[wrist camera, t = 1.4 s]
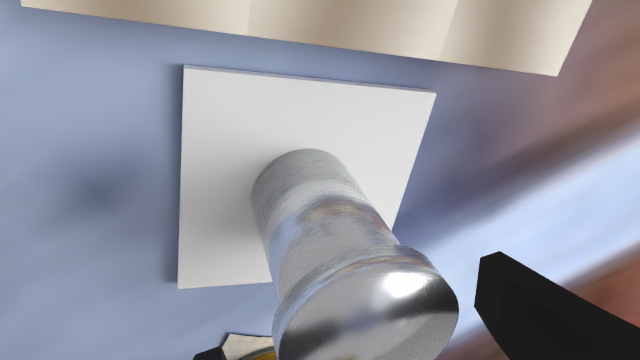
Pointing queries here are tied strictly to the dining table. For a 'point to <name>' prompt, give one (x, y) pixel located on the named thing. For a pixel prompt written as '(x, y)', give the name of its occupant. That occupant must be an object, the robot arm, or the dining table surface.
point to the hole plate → (376, 25)
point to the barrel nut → (344, 269)
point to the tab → (274, 141)
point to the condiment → (249, 348)
